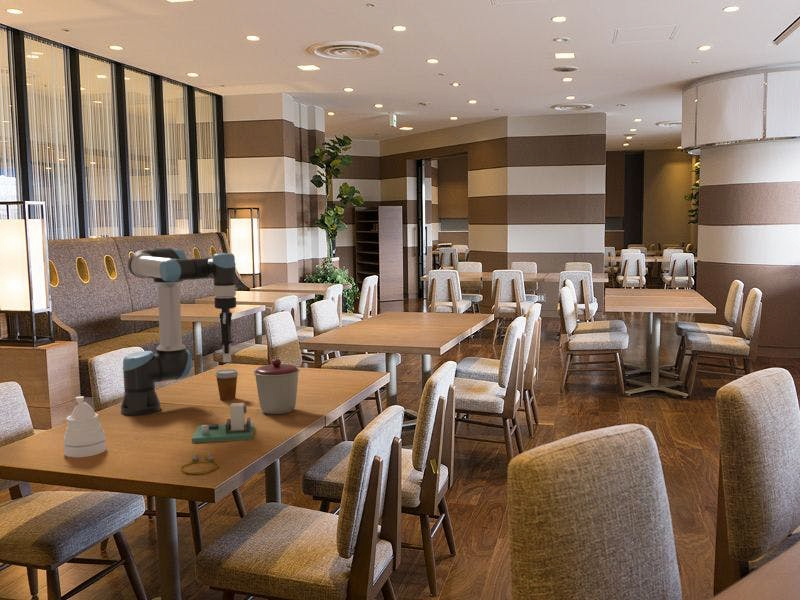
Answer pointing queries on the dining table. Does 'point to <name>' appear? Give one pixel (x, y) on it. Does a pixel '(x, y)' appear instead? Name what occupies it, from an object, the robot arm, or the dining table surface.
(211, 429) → the board
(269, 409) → the canister
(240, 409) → the plug
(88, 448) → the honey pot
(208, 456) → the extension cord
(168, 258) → the robot arm
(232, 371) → the disposable coffee cup
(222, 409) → the dining table surface
